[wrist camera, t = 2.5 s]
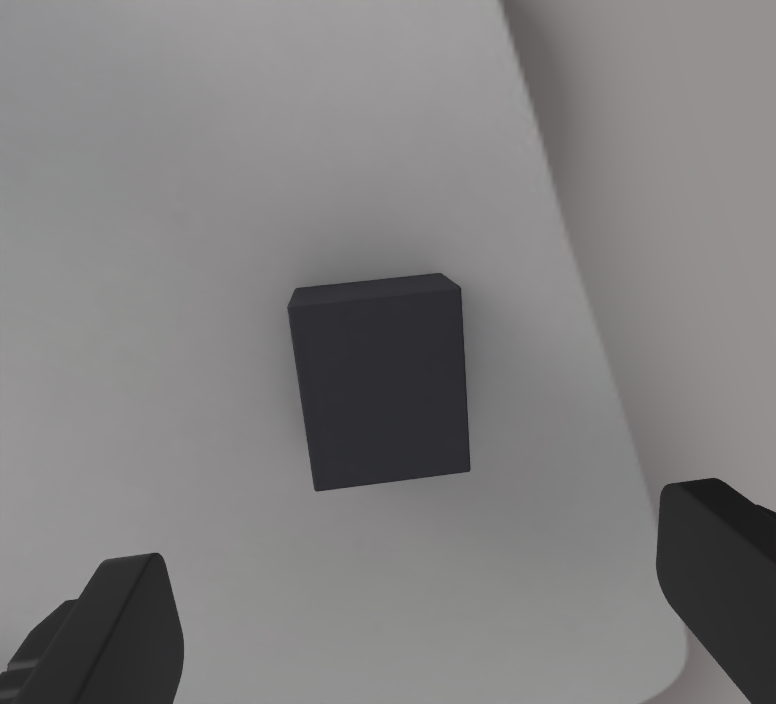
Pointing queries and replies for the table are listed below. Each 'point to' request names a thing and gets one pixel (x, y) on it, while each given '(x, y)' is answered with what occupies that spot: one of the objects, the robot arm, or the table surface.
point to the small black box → (381, 379)
